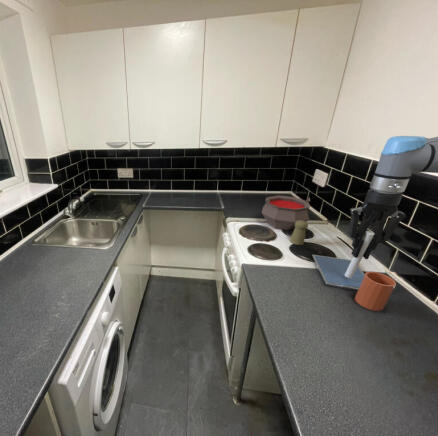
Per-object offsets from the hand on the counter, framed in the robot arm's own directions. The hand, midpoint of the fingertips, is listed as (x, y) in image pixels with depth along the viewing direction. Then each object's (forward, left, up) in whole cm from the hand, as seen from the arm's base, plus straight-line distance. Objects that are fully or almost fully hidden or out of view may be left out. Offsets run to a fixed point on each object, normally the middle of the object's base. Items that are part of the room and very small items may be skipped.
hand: (359, 256), depth 79 cm
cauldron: (+15, -48, -12) cm, 52 cm away
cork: (+11, -29, -12) cm, 34 cm away
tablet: (0, -7, -12) cm, 14 cm away
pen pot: (-3, +8, -12) cm, 15 cm away
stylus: (0, -2, -11) cm, 11 cm away
